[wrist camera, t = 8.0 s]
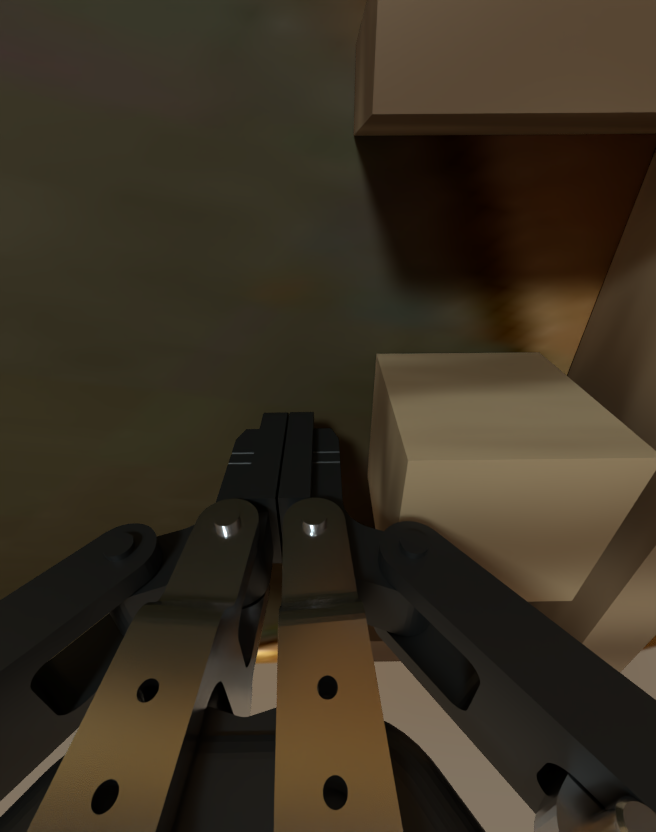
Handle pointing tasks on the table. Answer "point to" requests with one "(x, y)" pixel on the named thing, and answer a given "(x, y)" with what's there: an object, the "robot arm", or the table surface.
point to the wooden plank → (638, 248)
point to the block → (503, 464)
